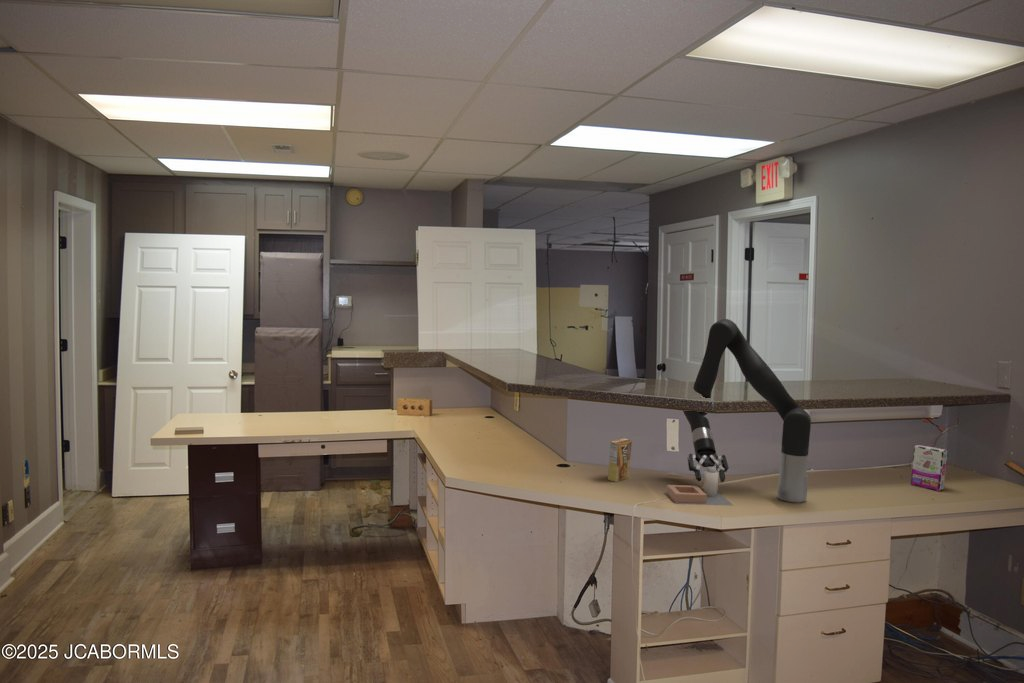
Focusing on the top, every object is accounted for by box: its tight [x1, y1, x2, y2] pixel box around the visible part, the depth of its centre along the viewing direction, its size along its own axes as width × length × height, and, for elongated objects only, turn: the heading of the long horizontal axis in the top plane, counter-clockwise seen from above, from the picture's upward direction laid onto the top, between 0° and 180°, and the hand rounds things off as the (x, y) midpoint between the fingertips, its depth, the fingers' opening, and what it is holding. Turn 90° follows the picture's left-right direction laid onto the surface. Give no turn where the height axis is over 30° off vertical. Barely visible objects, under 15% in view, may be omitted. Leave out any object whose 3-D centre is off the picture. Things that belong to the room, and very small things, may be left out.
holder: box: [662, 484, 734, 506], centre depth 267 cm, size 21×16×4 cm
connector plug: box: [702, 467, 720, 497], centre depth 271 cm, size 5×5×10 cm
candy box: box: [607, 438, 633, 483], centre depth 289 cm, size 9×4×15 cm, turn 137°
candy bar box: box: [910, 444, 948, 492], centre depth 300 cm, size 11×5×16 cm, turn 40°
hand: (711, 480), depth 270 cm, fingers open, 8 cm apart
